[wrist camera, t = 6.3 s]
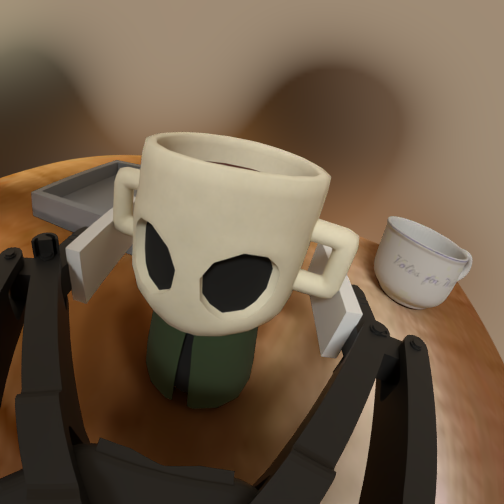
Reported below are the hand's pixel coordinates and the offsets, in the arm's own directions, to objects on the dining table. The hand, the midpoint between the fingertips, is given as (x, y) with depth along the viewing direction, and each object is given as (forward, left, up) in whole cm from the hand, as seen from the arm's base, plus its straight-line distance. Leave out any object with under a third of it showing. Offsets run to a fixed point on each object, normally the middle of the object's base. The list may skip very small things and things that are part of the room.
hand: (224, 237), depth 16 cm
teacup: (+21, +14, -8) cm, 26 cm away
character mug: (+1, -4, -7) cm, 8 cm away
